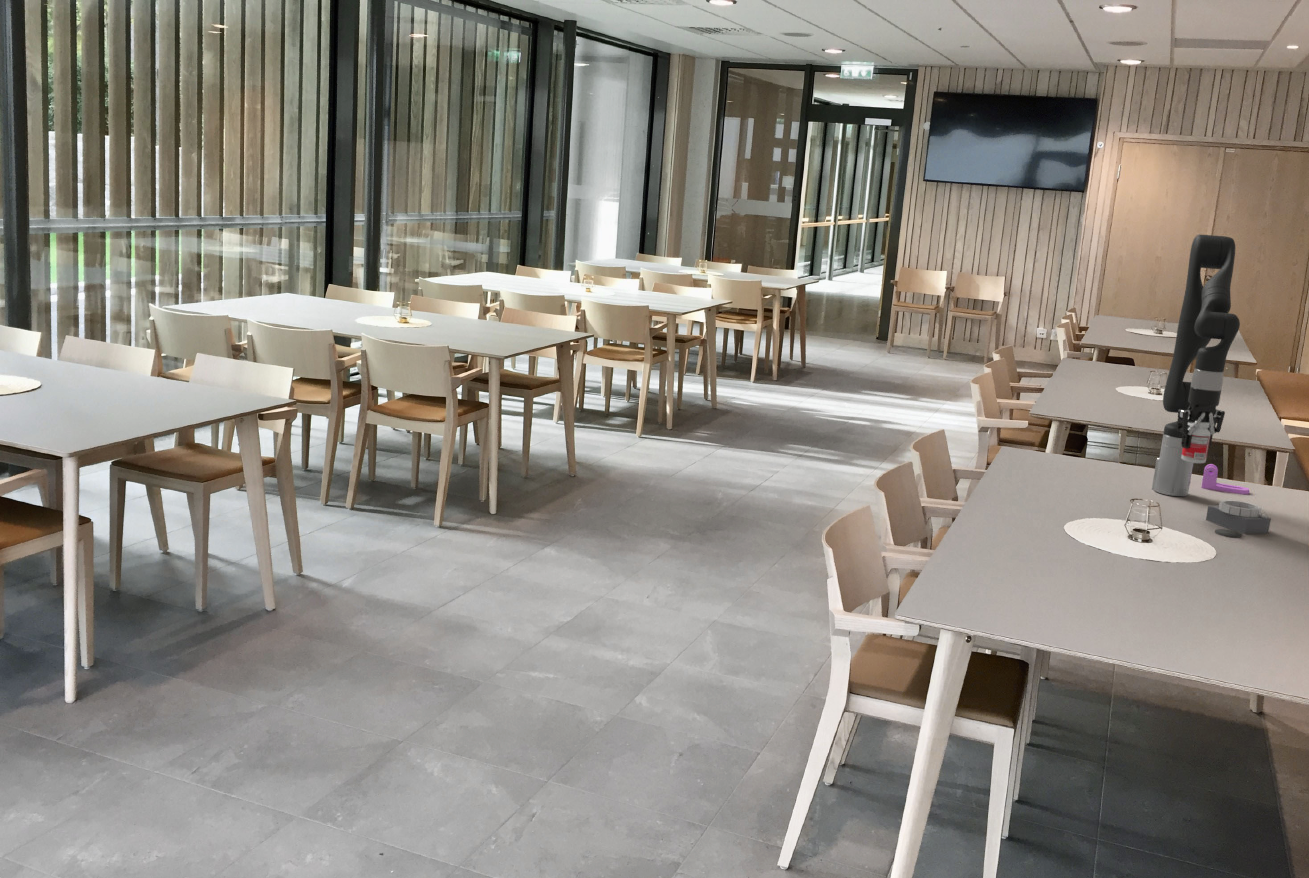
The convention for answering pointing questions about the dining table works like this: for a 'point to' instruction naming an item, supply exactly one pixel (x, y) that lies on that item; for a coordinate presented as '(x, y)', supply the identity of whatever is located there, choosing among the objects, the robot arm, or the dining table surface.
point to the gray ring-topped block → (1239, 517)
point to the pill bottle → (1198, 444)
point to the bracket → (1211, 483)
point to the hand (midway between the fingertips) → (1195, 447)
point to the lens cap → (1228, 533)
